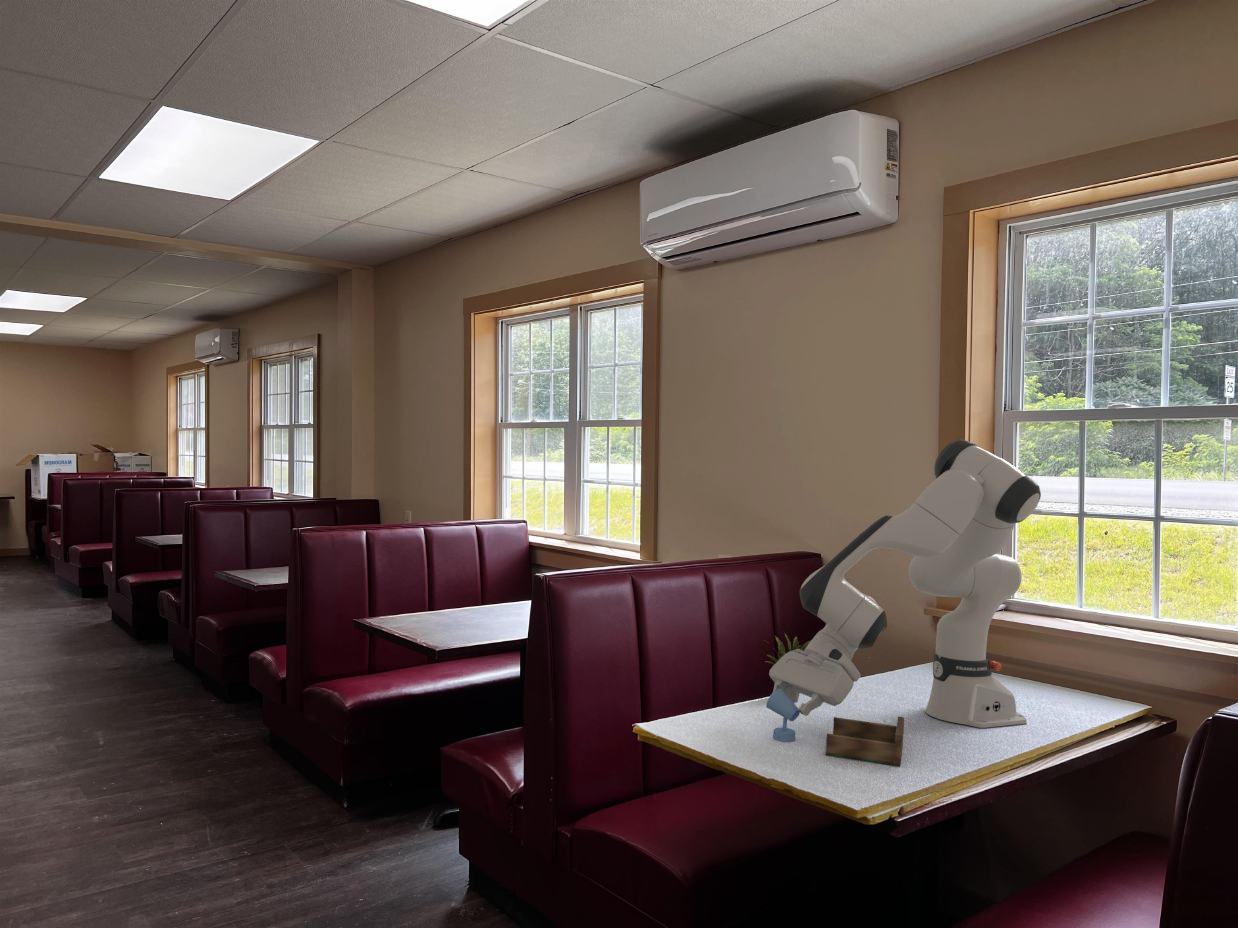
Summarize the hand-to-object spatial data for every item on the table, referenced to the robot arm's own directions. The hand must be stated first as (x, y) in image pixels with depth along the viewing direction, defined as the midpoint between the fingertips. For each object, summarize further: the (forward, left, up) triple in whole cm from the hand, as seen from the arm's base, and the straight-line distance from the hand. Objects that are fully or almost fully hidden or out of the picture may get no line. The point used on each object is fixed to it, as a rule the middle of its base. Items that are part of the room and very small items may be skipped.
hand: (787, 707), depth 182 cm
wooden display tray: (-13, +9, -6) cm, 17 cm away
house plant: (-14, -28, -7) cm, 32 cm away
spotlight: (+1, 0, -7) cm, 7 cm away
